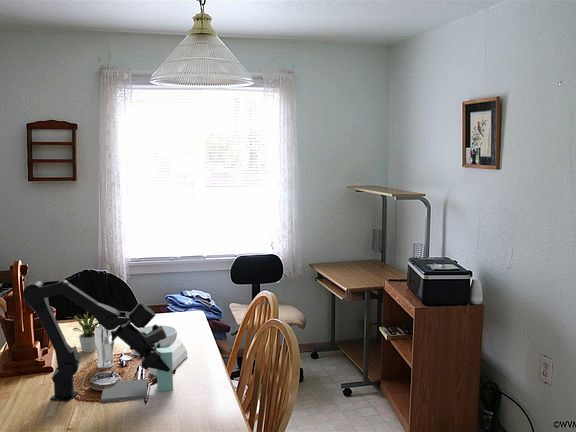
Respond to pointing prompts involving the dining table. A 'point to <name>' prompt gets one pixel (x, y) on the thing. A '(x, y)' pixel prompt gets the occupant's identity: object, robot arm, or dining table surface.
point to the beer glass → (104, 347)
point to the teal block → (162, 376)
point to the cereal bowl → (170, 335)
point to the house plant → (87, 333)
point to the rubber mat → (125, 391)
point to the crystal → (174, 355)
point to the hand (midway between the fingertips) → (168, 367)
